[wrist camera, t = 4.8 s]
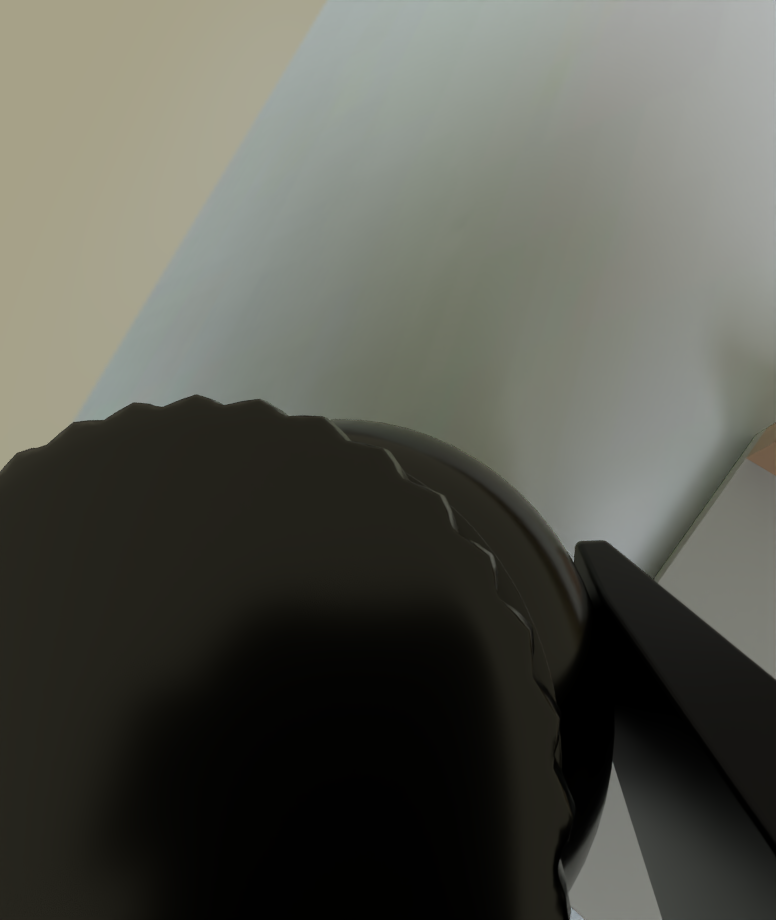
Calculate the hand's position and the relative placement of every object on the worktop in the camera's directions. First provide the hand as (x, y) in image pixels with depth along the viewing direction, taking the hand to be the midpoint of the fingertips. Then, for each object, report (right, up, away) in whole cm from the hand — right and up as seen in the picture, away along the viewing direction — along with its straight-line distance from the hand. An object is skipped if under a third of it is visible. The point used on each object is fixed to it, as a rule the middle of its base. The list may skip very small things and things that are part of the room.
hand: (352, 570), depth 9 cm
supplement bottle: (+1, -3, +6) cm, 7 cm away
